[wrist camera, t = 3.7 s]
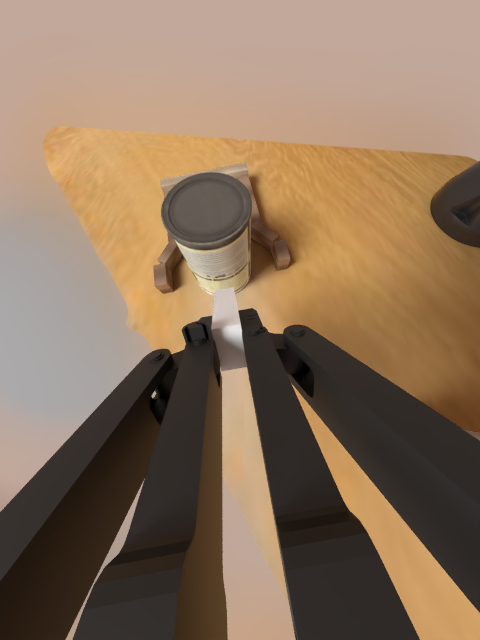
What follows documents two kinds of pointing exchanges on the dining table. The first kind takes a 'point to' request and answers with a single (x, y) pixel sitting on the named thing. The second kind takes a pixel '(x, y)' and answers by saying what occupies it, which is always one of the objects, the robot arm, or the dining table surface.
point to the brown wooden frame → (258, 231)
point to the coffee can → (212, 228)
